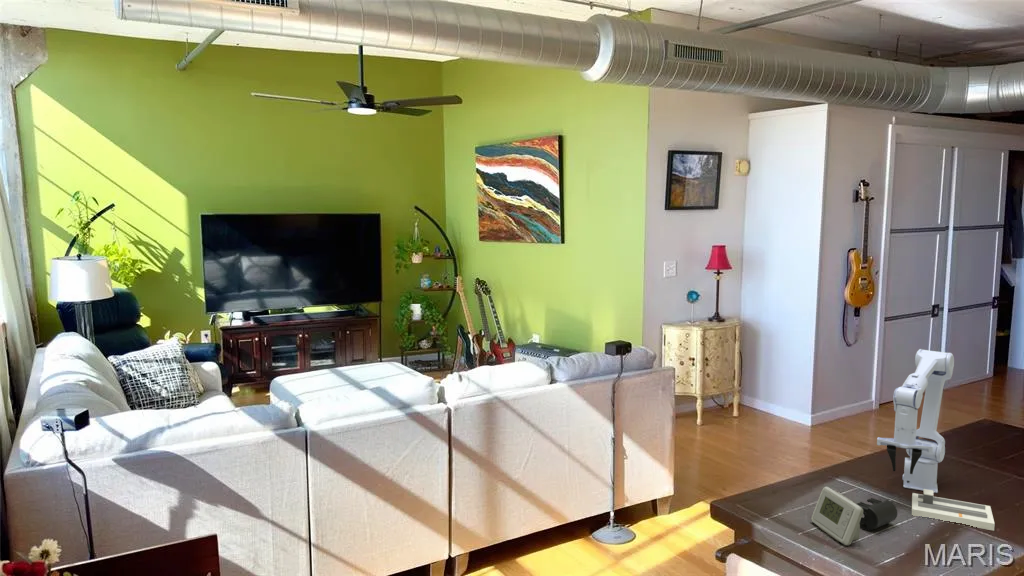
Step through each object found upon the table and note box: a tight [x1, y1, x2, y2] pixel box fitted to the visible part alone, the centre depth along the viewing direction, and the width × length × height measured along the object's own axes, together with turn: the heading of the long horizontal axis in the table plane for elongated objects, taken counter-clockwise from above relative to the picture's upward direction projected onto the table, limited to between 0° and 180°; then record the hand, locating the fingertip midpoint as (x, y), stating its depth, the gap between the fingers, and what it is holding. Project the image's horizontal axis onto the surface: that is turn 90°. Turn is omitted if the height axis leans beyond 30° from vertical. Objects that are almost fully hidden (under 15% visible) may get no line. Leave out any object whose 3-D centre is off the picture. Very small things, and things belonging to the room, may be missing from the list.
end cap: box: [856, 497, 898, 531], centre depth 202 cm, size 10×7×7 cm
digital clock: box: [811, 486, 864, 546], centre depth 197 cm, size 16×9×11 cm, turn 179°
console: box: [911, 492, 996, 532], centre depth 210 cm, size 20×14×3 cm
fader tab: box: [922, 489, 935, 505], centre depth 213 cm, size 2×4×3 cm, turn 151°
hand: (902, 471), depth 216 cm, fingers open, 4 cm apart
